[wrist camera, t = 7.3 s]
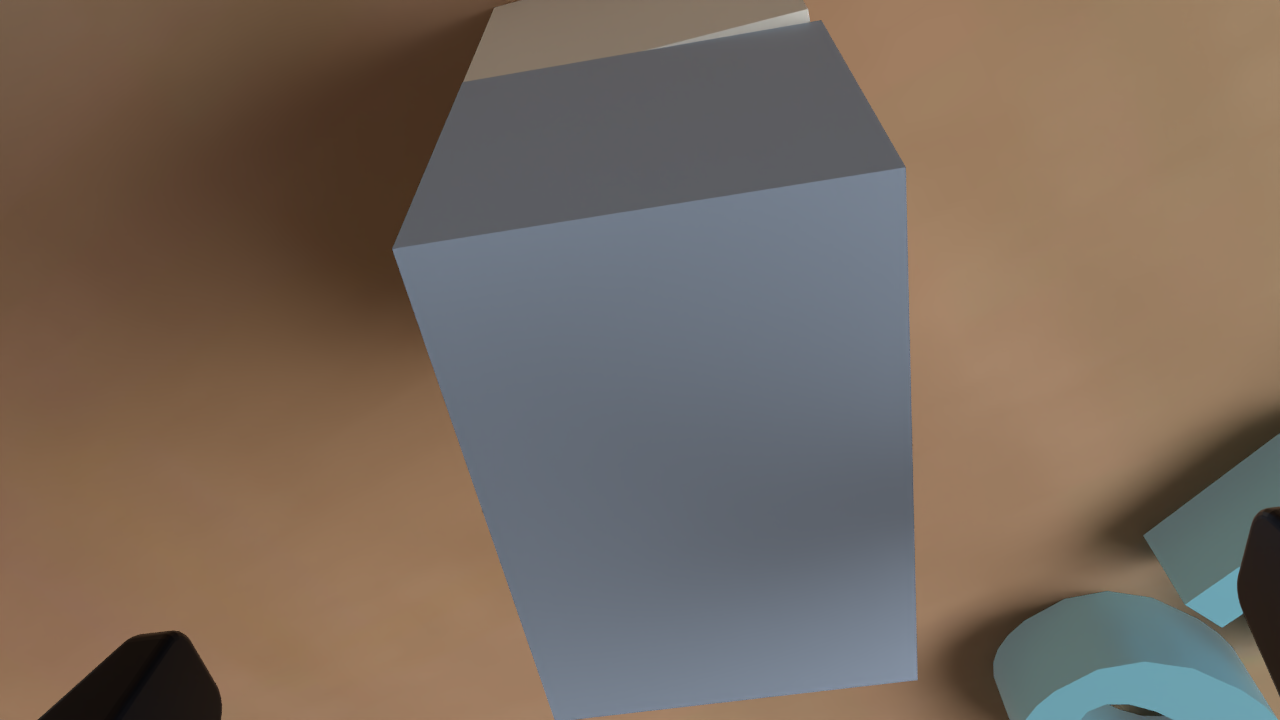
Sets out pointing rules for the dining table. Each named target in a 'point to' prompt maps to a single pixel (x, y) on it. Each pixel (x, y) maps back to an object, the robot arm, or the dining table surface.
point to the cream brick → (614, 29)
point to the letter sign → (1152, 624)
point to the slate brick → (680, 367)
